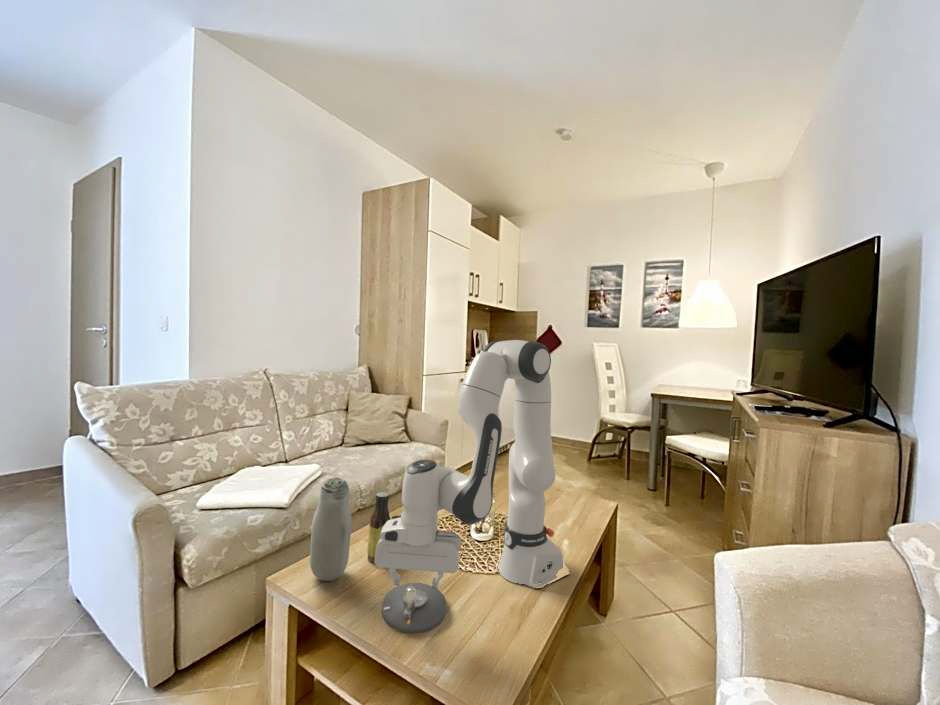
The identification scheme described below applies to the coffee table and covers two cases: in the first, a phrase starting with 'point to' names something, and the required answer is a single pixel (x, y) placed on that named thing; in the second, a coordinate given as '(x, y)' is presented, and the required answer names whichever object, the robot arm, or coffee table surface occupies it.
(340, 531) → the grey bottle
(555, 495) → the coffee table surface
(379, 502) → the sauce bottle
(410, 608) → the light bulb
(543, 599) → the coffee table surface
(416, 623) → the dial plate
